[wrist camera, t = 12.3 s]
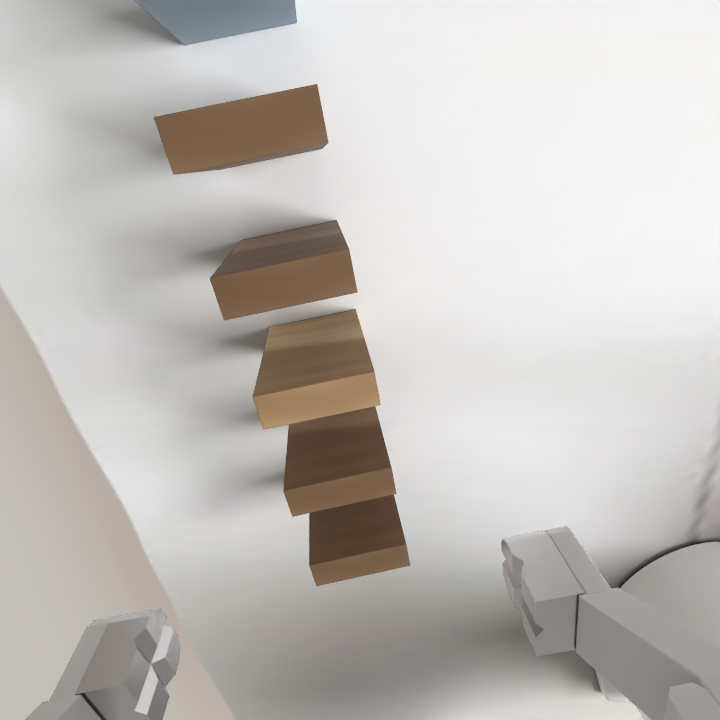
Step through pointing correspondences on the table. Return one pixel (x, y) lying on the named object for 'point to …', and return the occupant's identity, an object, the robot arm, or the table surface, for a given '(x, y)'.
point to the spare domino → (314, 371)
